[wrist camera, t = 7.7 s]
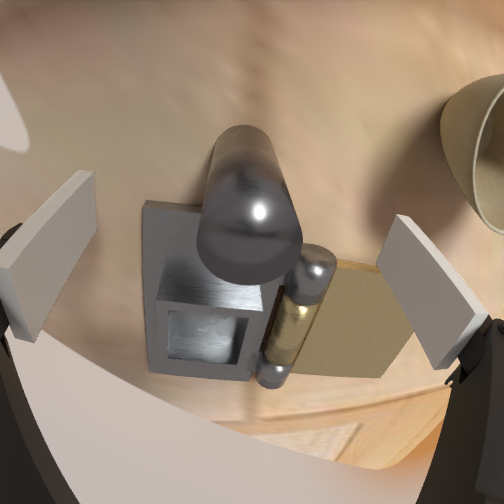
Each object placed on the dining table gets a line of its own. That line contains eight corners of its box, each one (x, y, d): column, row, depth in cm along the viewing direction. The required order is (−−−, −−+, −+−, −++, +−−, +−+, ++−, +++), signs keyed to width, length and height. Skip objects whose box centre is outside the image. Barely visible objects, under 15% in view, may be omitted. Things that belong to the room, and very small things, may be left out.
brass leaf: (292, 250, 24) (296, 273, 21) (438, 276, 25) (450, 297, 22) (258, 359, 31) (257, 382, 28) (377, 369, 32) (383, 390, 29)
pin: (217, 121, 18) (200, 190, 10) (278, 129, 18) (314, 204, 10) (210, 176, 20) (193, 280, 12) (267, 183, 20) (289, 289, 12)
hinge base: (146, 200, 21) (133, 227, 18) (338, 225, 23) (353, 253, 20) (150, 364, 30) (145, 392, 28) (279, 374, 32) (283, 402, 30)
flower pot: (518, 89, 16) (583, 116, 10) (484, 196, 22) (537, 244, 16) (427, 36, 15) (501, 43, 9) (392, 171, 20) (448, 223, 14)
